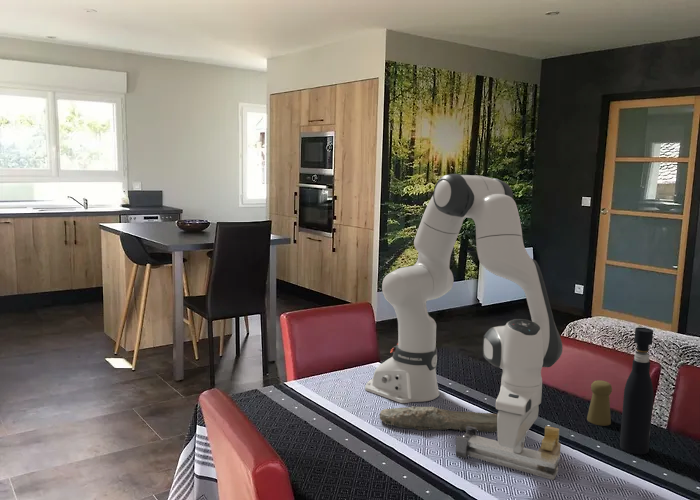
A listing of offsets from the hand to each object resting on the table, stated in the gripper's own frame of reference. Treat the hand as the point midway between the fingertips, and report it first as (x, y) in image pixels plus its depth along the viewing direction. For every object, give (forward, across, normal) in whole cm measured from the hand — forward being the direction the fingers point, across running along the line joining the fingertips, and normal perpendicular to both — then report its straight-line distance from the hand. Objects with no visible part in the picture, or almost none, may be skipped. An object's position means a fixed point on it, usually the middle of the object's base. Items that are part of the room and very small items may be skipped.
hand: (518, 450), depth 135 cm
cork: (+4, -36, +12) cm, 38 cm away
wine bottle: (+4, -24, +22) cm, 33 cm away
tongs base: (+4, 0, -3) cm, 5 cm away
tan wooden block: (+4, -6, +6) cm, 9 cm away
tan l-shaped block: (0, -6, +6) cm, 8 cm away
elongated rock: (+4, -11, -22) cm, 25 cm away
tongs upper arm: (+2, 0, -3) cm, 3 cm away
